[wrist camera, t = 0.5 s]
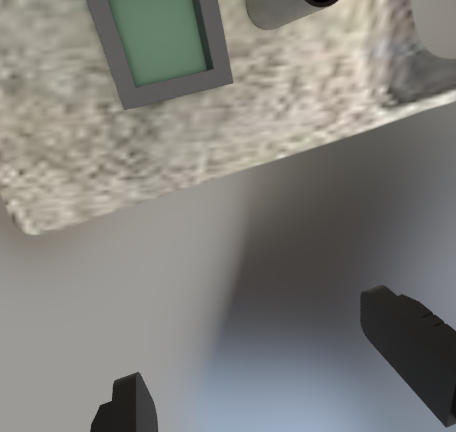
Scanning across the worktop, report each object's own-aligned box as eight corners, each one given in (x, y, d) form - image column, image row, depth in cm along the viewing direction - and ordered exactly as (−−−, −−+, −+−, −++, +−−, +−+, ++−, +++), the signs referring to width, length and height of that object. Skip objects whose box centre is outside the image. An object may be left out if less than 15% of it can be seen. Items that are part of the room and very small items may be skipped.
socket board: (84, -16, 26) (75, -32, 23) (198, -37, 28) (207, -55, 24) (125, 107, 30) (124, 110, 27) (222, 83, 32) (233, 83, 28)
